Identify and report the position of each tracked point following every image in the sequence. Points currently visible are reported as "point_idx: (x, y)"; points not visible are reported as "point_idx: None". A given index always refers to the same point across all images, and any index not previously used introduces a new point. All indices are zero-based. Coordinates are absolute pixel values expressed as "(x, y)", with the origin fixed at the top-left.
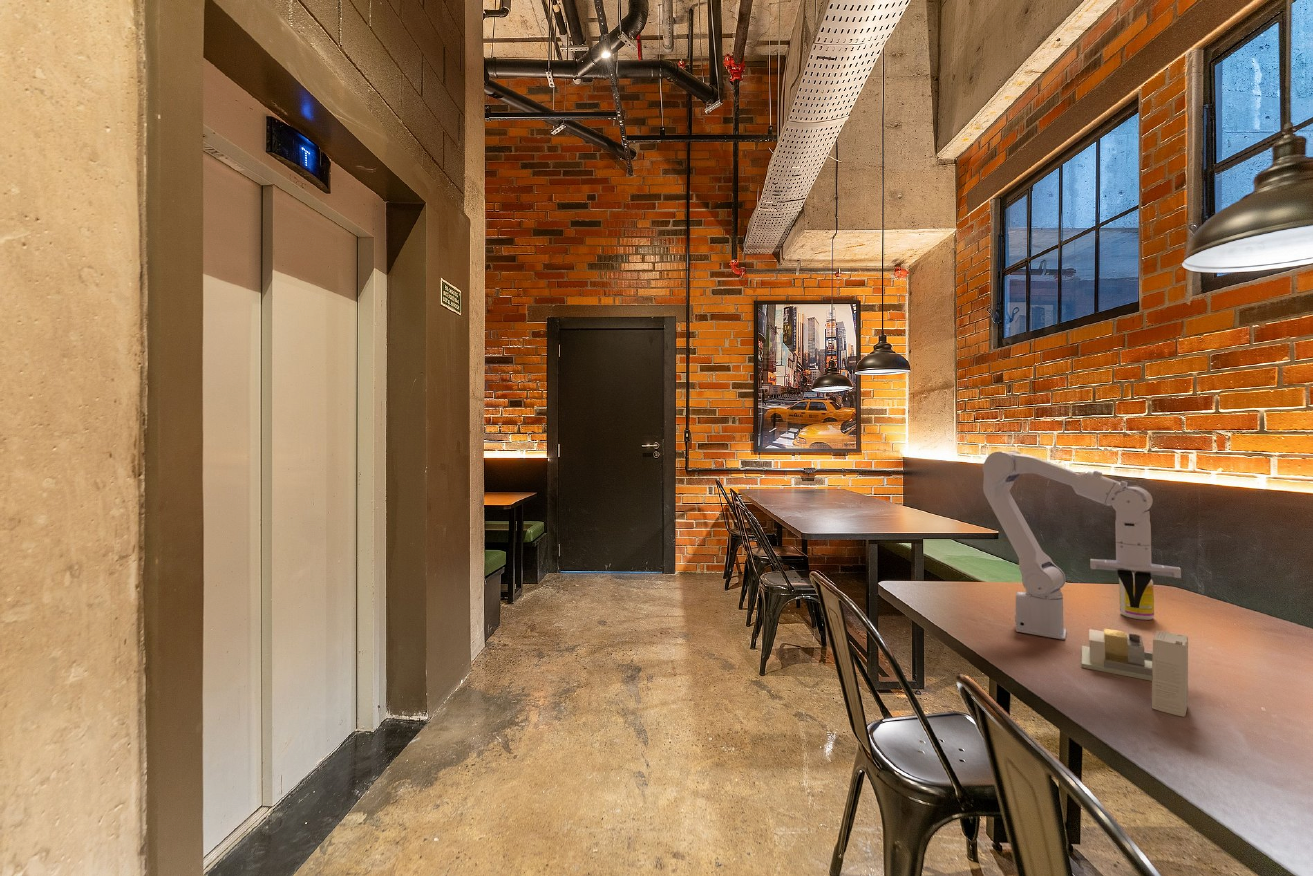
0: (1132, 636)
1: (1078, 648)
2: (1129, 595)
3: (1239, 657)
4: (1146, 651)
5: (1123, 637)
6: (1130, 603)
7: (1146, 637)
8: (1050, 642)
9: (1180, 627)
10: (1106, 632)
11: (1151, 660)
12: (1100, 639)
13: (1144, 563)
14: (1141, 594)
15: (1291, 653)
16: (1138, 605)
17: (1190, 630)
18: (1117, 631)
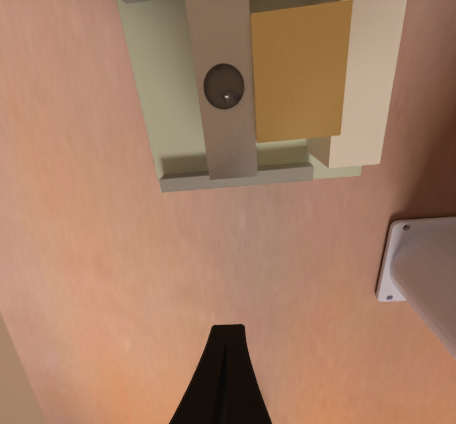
0: (230, 66)
1: (363, 175)
2: (249, 382)
3: (81, 320)
4: (205, 188)
5: (266, 12)
6: (244, 338)
7: None
8: (435, 179)
9: None
10: (337, 58)
11: (195, 162)
12: (358, 4)
13: None
14: (184, 400)
15: (39, 377)
16: (211, 334)
17: (166, 407)
18: (288, 121)
